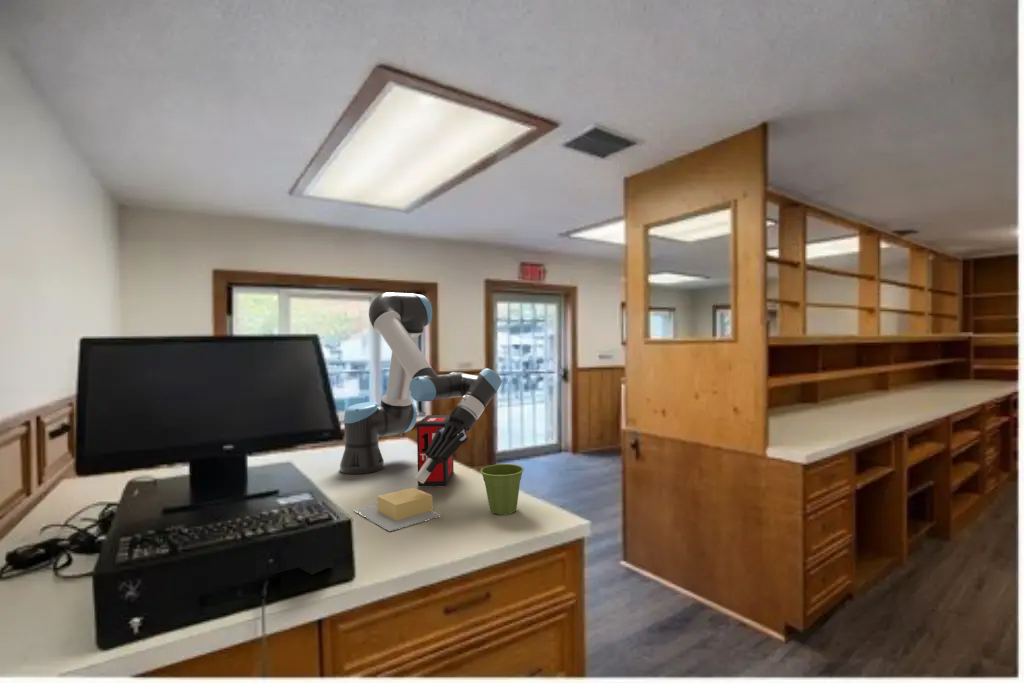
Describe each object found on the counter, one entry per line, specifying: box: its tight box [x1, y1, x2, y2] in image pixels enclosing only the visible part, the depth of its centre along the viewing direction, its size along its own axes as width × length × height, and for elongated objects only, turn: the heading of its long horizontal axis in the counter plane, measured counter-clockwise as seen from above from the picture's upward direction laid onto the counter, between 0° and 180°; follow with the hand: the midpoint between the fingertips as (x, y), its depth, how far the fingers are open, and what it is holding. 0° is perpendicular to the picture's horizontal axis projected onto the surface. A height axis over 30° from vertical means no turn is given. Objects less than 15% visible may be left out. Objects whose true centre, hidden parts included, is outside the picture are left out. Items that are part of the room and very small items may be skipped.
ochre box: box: [377, 486, 434, 521], centre depth 134 cm, size 10×4×11 cm
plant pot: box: [479, 463, 525, 516], centre depth 133 cm, size 12×12×11 cm
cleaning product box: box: [416, 414, 454, 487], centre depth 164 cm, size 16×9×20 cm, turn 179°
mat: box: [356, 503, 442, 533], centre depth 132 cm, size 20×15×1 cm
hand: (418, 480), depth 137 cm, fingers closed
